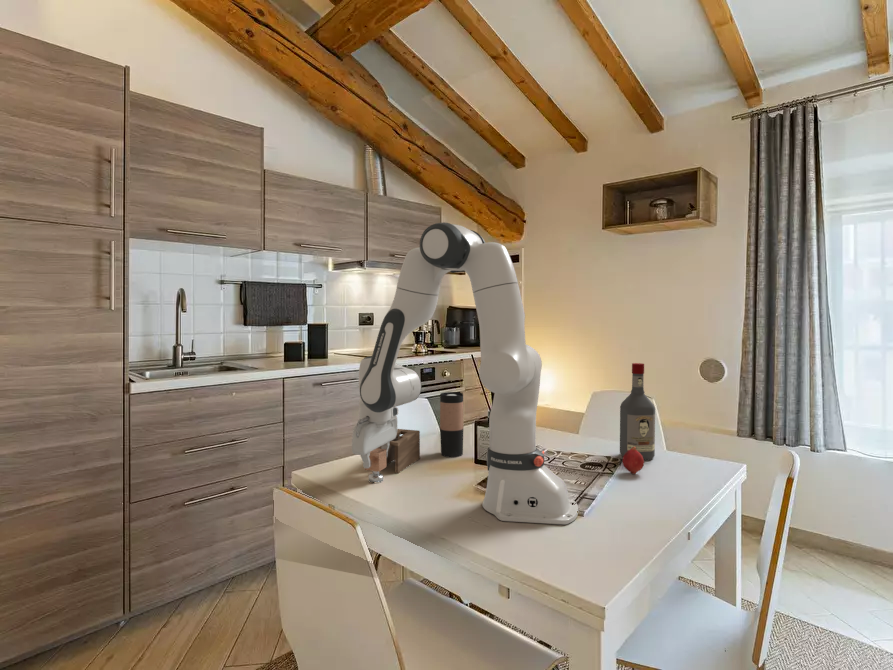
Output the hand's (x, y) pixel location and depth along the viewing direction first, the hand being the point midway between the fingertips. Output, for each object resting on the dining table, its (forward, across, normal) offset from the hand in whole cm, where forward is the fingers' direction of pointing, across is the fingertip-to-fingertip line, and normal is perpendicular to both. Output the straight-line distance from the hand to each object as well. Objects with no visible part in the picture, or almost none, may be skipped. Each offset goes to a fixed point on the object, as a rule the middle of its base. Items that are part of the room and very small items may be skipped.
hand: (375, 462), depth 145 cm
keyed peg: (+5, 0, 0) cm, 5 cm away
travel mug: (+5, +32, -11) cm, 34 cm away
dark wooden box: (+5, +16, +1) cm, 17 cm away
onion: (+5, +30, -67) cm, 74 cm away
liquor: (+5, +49, -68) cm, 84 cm away
